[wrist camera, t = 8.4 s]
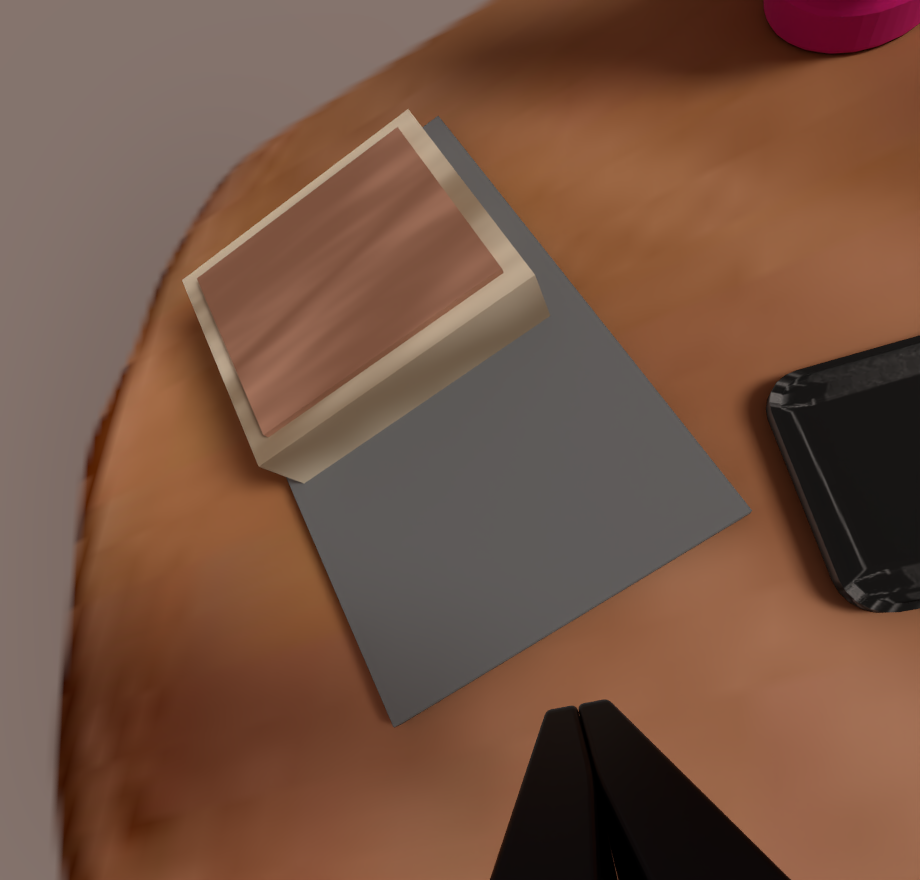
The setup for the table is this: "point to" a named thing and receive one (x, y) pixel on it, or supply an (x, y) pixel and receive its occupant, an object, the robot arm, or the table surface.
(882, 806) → the table surface
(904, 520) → the phone
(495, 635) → the rubber mat
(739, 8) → the table surface
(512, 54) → the table surface
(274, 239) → the small wooden box
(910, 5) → the pepper mill
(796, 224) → the table surface
